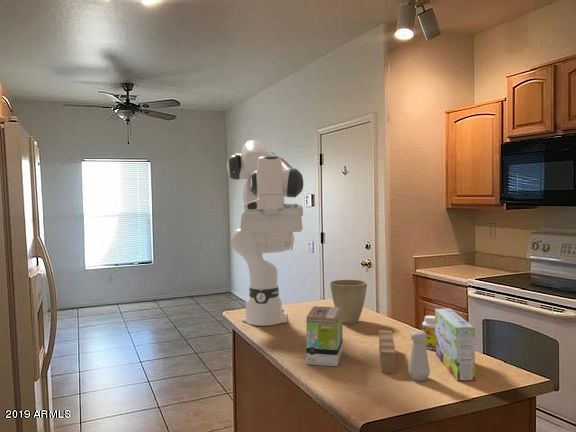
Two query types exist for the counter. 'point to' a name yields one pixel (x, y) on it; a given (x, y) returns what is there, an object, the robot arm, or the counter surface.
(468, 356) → the snack box
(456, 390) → the counter surface
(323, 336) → the tea box
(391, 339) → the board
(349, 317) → the plant pot
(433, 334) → the supplement bottle
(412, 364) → the salt shaker
